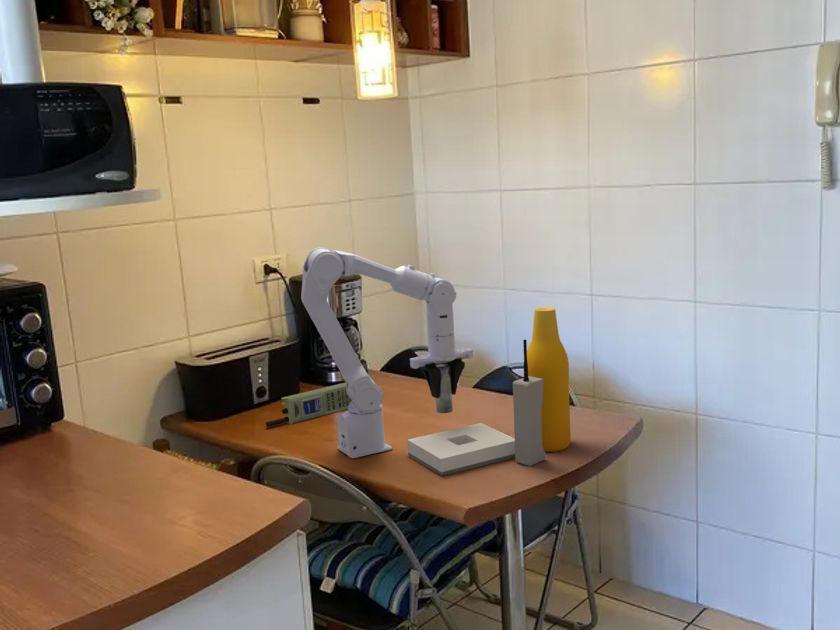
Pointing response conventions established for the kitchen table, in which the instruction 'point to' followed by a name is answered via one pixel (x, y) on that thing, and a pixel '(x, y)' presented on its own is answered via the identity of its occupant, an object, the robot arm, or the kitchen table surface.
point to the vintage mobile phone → (528, 417)
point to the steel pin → (444, 390)
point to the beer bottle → (551, 379)
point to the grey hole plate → (461, 448)
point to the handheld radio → (313, 404)
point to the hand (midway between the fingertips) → (443, 395)
